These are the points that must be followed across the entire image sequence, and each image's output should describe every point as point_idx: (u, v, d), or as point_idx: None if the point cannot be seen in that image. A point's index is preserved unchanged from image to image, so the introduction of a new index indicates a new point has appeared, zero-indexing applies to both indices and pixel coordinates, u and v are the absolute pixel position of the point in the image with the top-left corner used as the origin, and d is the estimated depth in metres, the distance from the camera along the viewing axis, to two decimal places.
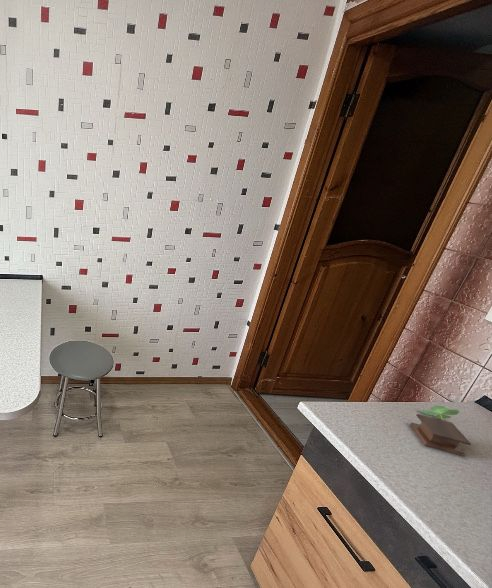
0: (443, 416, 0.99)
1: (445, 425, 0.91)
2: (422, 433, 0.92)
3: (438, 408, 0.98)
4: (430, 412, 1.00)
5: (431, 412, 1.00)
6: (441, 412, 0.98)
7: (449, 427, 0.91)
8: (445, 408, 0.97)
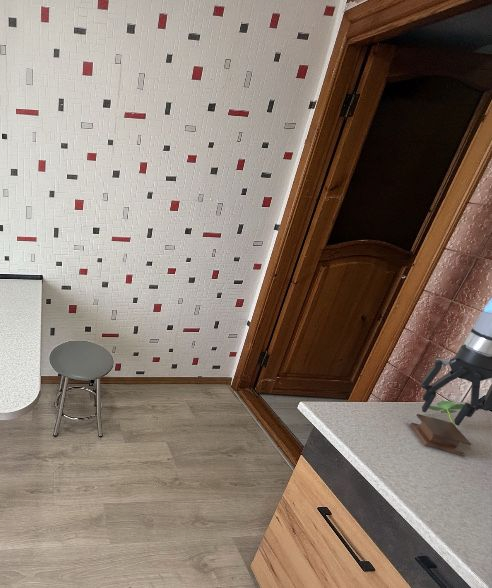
0: (449, 411, 0.98)
1: (445, 425, 0.91)
2: (422, 433, 0.92)
3: (444, 404, 0.97)
4: (436, 408, 0.99)
5: (437, 408, 0.99)
6: (447, 407, 0.97)
7: (449, 427, 0.91)
8: (451, 403, 0.96)
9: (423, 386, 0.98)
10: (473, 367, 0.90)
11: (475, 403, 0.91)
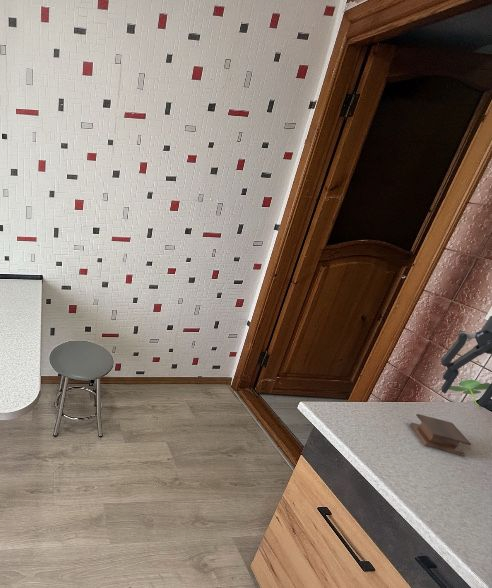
0: (472, 392, 0.88)
1: (445, 425, 0.91)
2: (422, 433, 0.92)
3: (467, 383, 0.86)
4: (457, 388, 0.88)
5: (459, 388, 0.88)
6: (471, 387, 0.86)
7: (449, 427, 0.91)
8: (475, 383, 0.85)
9: (444, 363, 0.87)
10: None
11: None
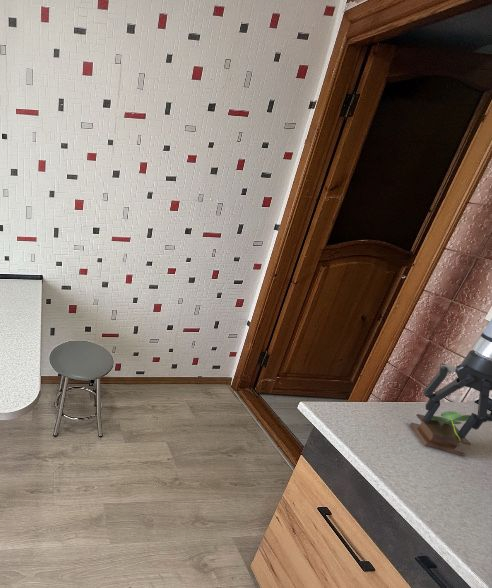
0: (453, 422, 0.90)
1: (445, 425, 0.91)
2: (422, 433, 0.92)
3: (448, 414, 0.89)
4: (439, 418, 0.91)
5: (441, 418, 0.91)
6: (452, 418, 0.89)
7: (449, 427, 0.91)
8: (457, 414, 0.88)
9: (426, 394, 0.90)
10: (482, 375, 0.82)
11: (483, 414, 0.84)
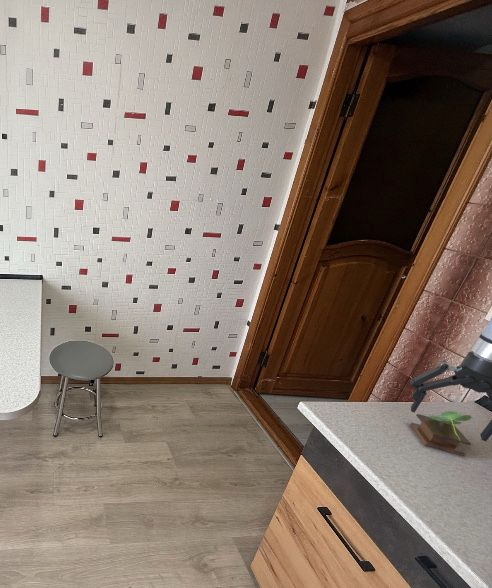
0: (453, 422, 0.90)
1: (445, 425, 0.91)
2: (422, 433, 0.92)
3: (448, 414, 0.89)
4: (439, 418, 0.91)
5: (441, 418, 0.91)
6: (452, 418, 0.89)
7: (449, 427, 0.91)
8: (456, 414, 0.88)
9: (412, 384, 0.91)
10: (481, 376, 0.82)
11: None
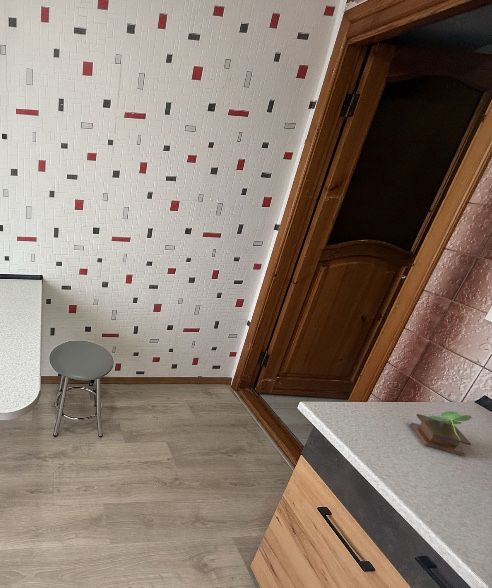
0: (453, 422, 0.90)
1: (445, 425, 0.91)
2: (422, 433, 0.92)
3: (448, 414, 0.89)
4: (439, 418, 0.91)
5: (441, 418, 0.91)
6: (452, 418, 0.89)
7: (449, 427, 0.91)
8: (456, 414, 0.88)
9: None
10: None
11: None
